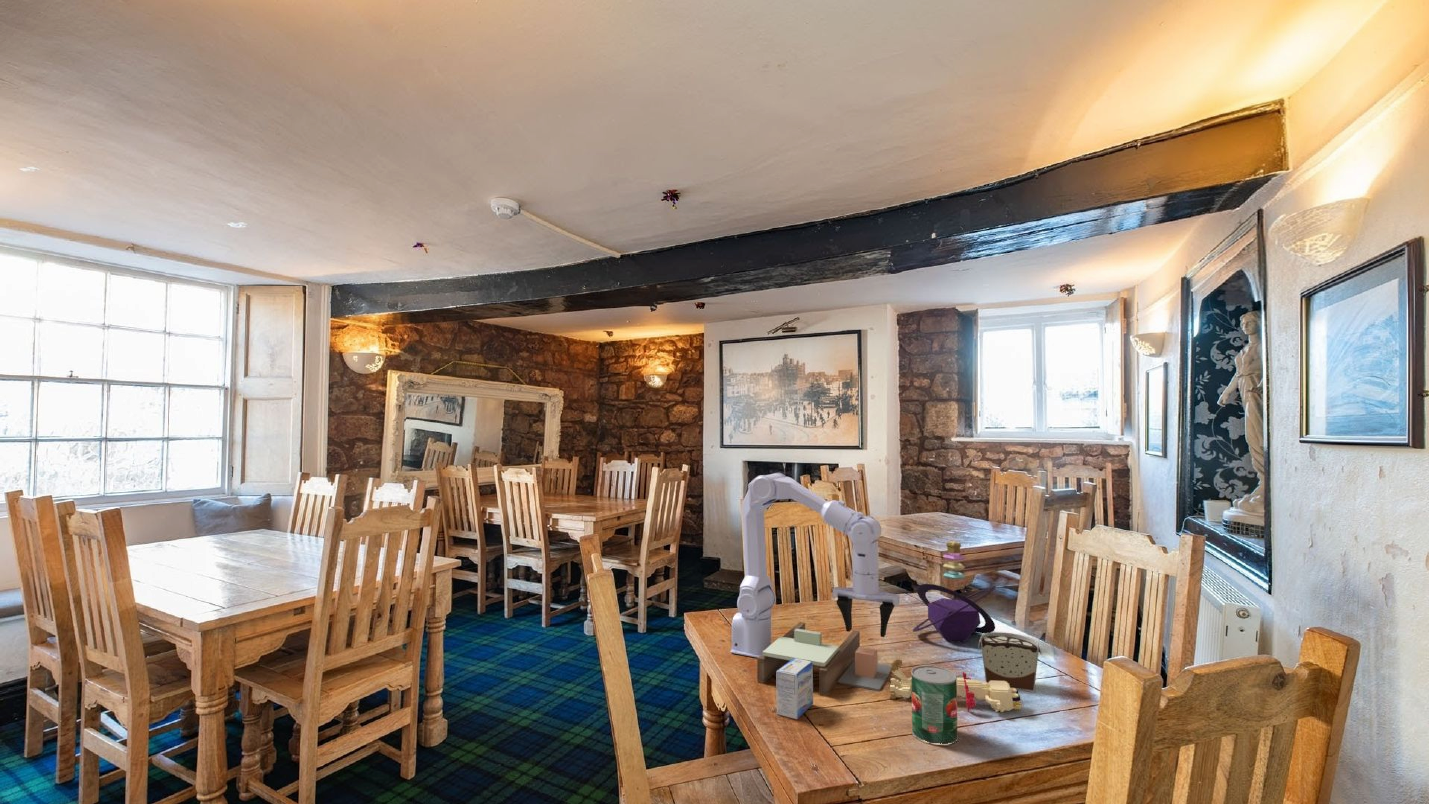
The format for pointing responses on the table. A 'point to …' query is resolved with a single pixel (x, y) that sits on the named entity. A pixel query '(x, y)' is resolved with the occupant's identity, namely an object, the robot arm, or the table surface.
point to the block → (866, 662)
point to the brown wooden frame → (826, 674)
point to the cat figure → (965, 690)
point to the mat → (866, 682)
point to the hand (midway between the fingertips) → (865, 632)
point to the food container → (1010, 659)
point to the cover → (802, 648)
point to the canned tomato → (934, 704)
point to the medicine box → (794, 688)
